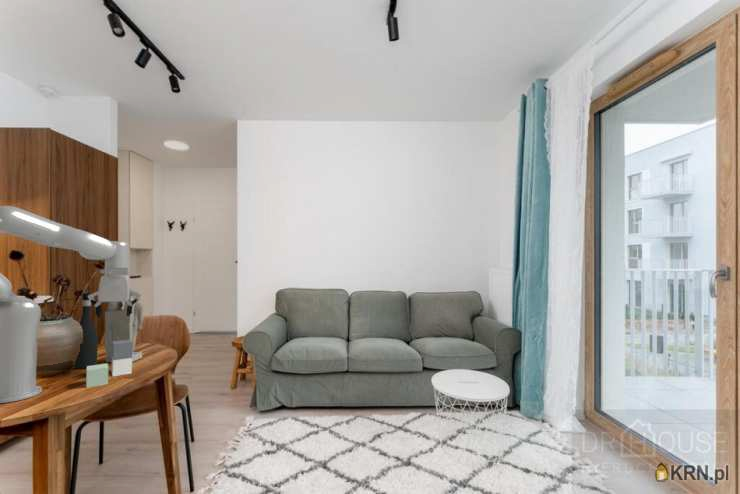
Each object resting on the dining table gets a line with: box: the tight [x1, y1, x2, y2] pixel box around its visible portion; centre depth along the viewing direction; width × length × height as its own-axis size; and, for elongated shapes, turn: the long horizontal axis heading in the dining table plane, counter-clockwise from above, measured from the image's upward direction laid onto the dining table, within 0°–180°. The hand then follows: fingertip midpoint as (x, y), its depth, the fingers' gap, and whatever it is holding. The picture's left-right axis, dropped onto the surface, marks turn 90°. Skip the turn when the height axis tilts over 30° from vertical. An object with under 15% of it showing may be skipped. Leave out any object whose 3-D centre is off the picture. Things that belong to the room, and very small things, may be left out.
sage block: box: [85, 362, 109, 388], centre depth 130 cm, size 6×6×6 cm
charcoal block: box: [112, 339, 133, 360], centre depth 142 cm, size 6×6×6 cm
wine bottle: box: [72, 292, 99, 370], centre depth 149 cm, size 8×8×30 cm
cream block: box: [111, 358, 133, 377], centre depth 142 cm, size 6×6×6 cm
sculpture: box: [104, 290, 144, 363], centre depth 159 cm, size 15×8×30 cm, turn 84°
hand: (113, 316), depth 143 cm, fingers open, 9 cm apart
